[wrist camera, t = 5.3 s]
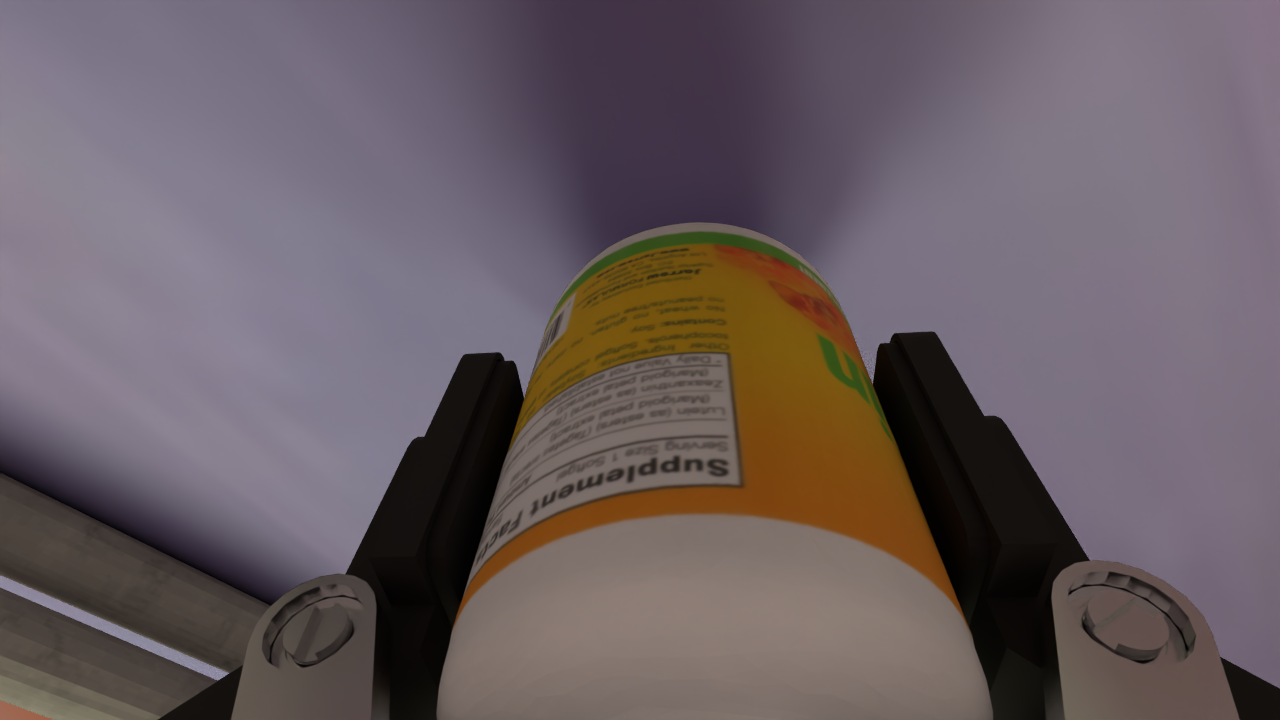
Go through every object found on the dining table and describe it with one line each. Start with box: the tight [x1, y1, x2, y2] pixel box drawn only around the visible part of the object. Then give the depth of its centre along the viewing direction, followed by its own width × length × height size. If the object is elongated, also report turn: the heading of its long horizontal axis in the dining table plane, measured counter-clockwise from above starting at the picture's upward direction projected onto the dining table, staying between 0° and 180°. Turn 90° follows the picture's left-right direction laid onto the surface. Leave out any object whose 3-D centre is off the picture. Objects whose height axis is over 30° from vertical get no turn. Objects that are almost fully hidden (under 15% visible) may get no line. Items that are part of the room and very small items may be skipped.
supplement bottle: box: [436, 222, 993, 720], centre depth 8 cm, size 5×5×10 cm
